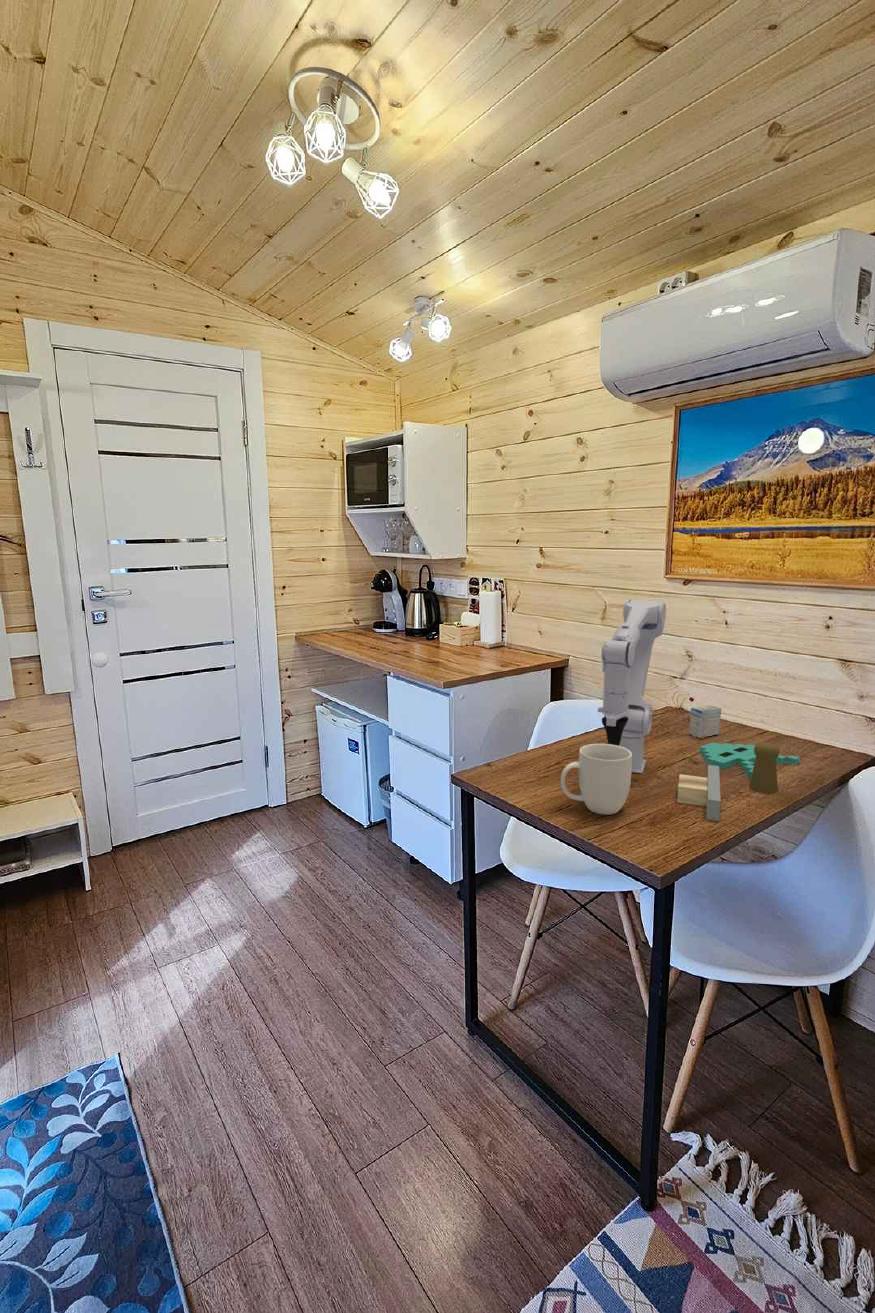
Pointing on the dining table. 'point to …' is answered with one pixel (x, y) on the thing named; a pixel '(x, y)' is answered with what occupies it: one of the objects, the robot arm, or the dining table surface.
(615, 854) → the dining table surface
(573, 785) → the dining table surface
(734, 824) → the dining table surface
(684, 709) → the dining table surface
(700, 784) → the maple block
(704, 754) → the alien figure
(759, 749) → the cork
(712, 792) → the board
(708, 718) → the medicine box
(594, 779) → the mug
